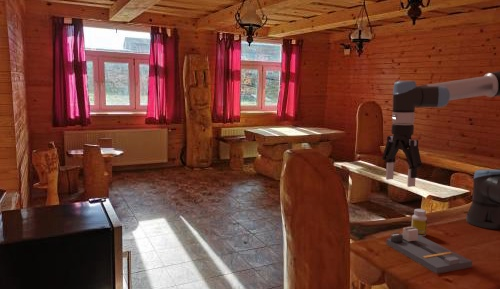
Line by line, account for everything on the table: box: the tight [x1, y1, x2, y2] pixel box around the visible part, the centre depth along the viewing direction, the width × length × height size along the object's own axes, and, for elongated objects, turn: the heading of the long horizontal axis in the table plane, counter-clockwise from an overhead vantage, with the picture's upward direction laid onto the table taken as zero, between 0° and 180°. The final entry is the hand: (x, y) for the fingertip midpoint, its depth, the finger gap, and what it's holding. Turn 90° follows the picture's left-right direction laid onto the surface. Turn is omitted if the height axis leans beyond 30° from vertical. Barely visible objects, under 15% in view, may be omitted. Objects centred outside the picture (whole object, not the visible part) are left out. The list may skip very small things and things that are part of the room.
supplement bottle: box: [410, 208, 428, 237], centre depth 147 cm, size 5×5×10 cm
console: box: [385, 232, 473, 274], centre depth 129 cm, size 14×24×5 cm, turn 18°
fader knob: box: [402, 226, 418, 242], centre depth 137 cm, size 4×3×4 cm
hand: (399, 182), depth 140 cm, fingers open, 11 cm apart
